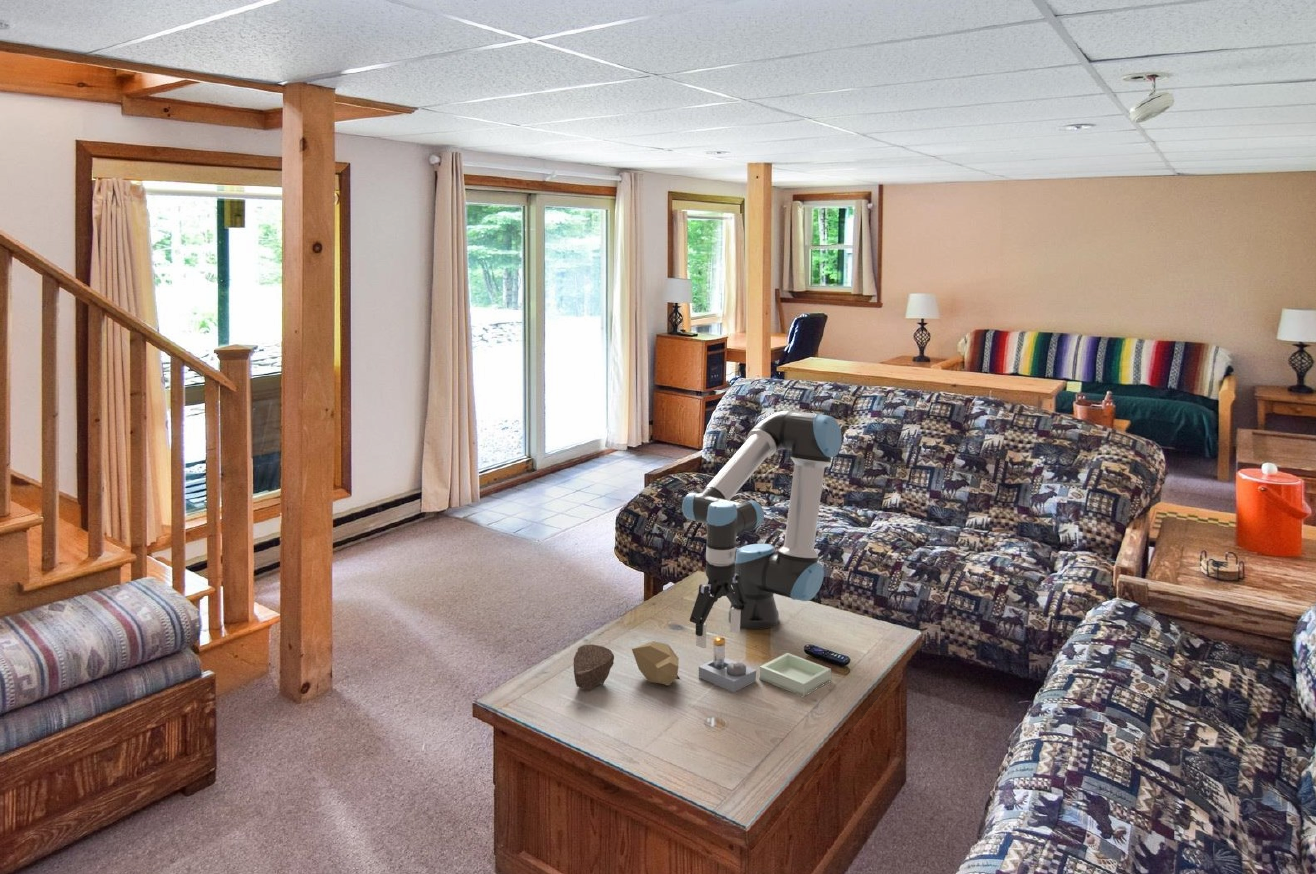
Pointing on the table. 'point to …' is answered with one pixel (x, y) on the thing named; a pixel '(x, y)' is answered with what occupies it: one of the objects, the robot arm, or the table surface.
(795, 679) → the tray
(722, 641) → the lock pin
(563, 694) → the table surface
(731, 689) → the block
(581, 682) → the rock
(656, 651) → the low-poly potato
